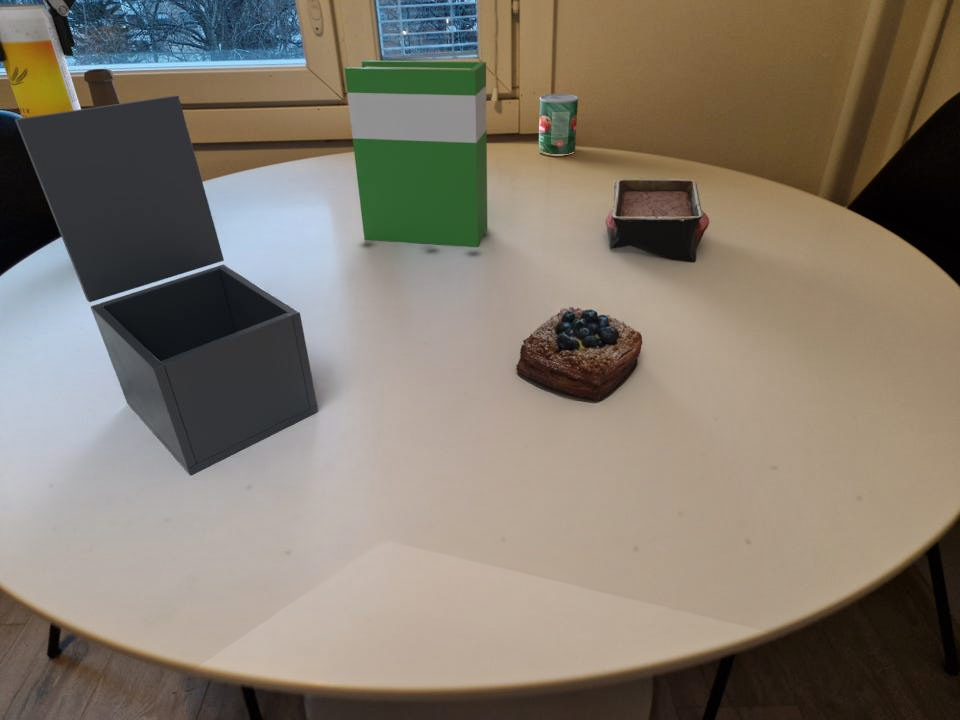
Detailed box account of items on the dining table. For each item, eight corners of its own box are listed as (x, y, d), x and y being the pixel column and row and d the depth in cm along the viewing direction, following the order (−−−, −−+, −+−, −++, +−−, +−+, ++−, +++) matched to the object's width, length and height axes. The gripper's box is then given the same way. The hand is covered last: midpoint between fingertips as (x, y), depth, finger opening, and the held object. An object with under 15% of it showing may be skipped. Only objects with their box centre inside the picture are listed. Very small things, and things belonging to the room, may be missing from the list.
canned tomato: (582, 153, 138) (586, 98, 132) (552, 158, 134) (554, 102, 128) (560, 145, 143) (563, 92, 137) (530, 150, 140) (532, 96, 134)
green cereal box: (364, 239, 98) (344, 68, 86) (380, 222, 105) (363, 60, 92) (478, 246, 95) (475, 70, 83) (487, 228, 102) (485, 62, 89)
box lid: (178, 95, 57) (155, 92, 61) (16, 119, 50) (1, 114, 53) (224, 260, 65) (201, 249, 68) (89, 302, 57) (71, 287, 61)
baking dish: (593, 270, 93) (603, 208, 86) (611, 210, 105) (621, 152, 98) (696, 289, 90) (715, 225, 83) (702, 225, 102) (718, 165, 96)
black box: (318, 411, 62) (300, 312, 56) (190, 475, 55) (153, 369, 49) (246, 354, 71) (223, 264, 65) (127, 403, 64) (89, 306, 58)
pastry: (504, 377, 66) (504, 327, 63) (558, 328, 75) (561, 282, 72) (602, 412, 61) (608, 360, 58) (649, 355, 70) (657, 306, 66)
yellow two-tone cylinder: (39, 143, 79) (-10, 4, 71) (94, 139, 81) (52, 3, 73) (29, 155, 74) (-25, 7, 67) (88, 151, 76) (42, 6, 68)
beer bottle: (166, 225, 105) (119, 64, 92) (182, 238, 100) (136, 70, 87) (114, 237, 101) (58, 70, 88) (129, 252, 96) (72, 77, 83)
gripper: (52, -134, 70) (103, 48, 80) (-153, -149, 60) (-66, 62, 70) (74, -141, 66) (125, 53, 75) (-144, -158, 56) (-53, 69, 65)
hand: (33, 56), depth 73 cm, fingers closed on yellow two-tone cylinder, 6 cm apart
